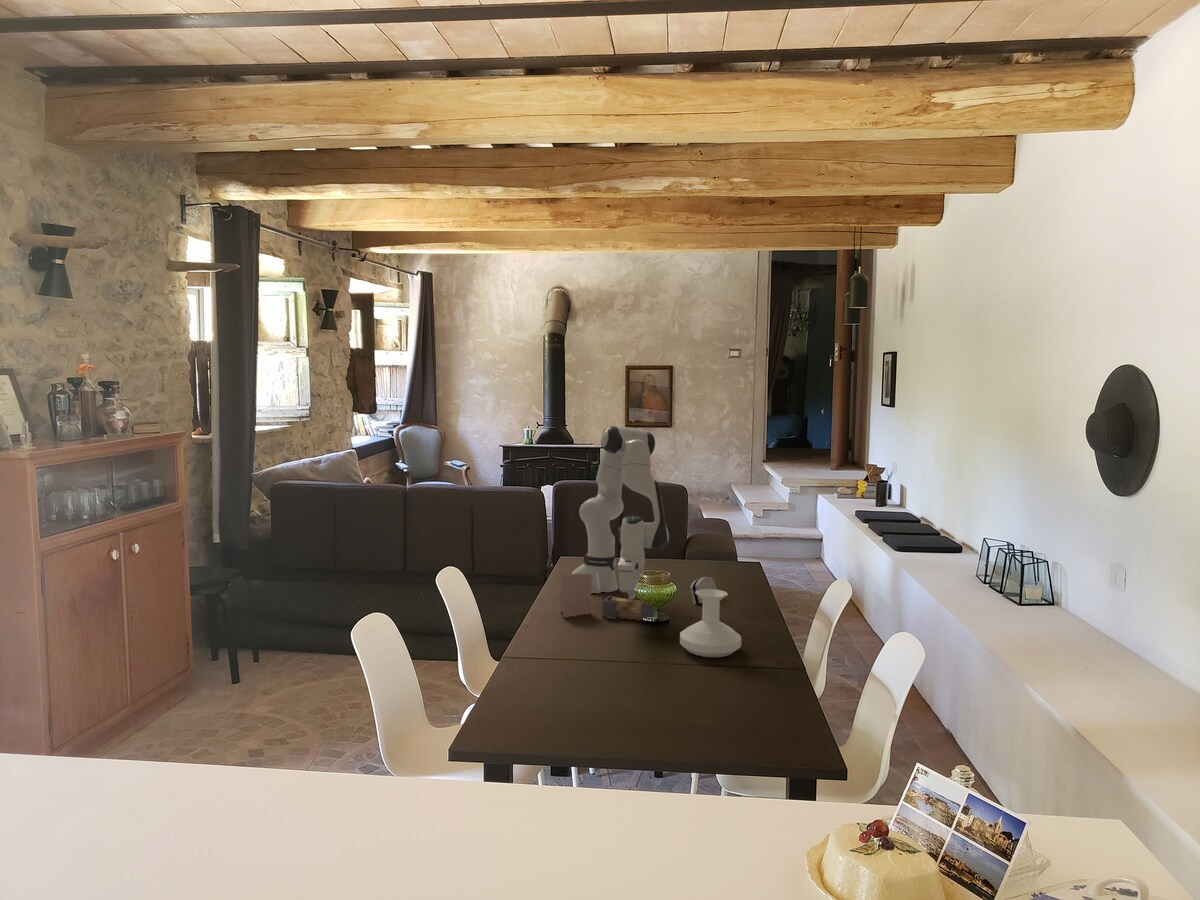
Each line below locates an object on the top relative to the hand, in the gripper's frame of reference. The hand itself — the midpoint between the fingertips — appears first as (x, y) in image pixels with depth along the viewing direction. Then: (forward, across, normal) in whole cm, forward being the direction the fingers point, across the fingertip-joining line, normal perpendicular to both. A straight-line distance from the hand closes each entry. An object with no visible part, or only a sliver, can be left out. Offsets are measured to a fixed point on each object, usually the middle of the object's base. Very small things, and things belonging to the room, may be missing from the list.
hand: (632, 598), depth 301 cm
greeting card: (+8, +4, -21) cm, 23 cm away
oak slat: (+5, 0, 0) cm, 5 cm away
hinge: (+8, -34, +20) cm, 41 cm away
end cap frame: (+8, 0, 0) cm, 8 cm away
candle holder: (+8, +26, +34) cm, 44 cm away
